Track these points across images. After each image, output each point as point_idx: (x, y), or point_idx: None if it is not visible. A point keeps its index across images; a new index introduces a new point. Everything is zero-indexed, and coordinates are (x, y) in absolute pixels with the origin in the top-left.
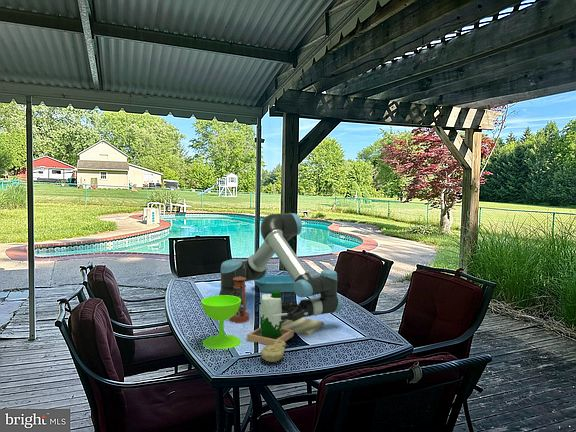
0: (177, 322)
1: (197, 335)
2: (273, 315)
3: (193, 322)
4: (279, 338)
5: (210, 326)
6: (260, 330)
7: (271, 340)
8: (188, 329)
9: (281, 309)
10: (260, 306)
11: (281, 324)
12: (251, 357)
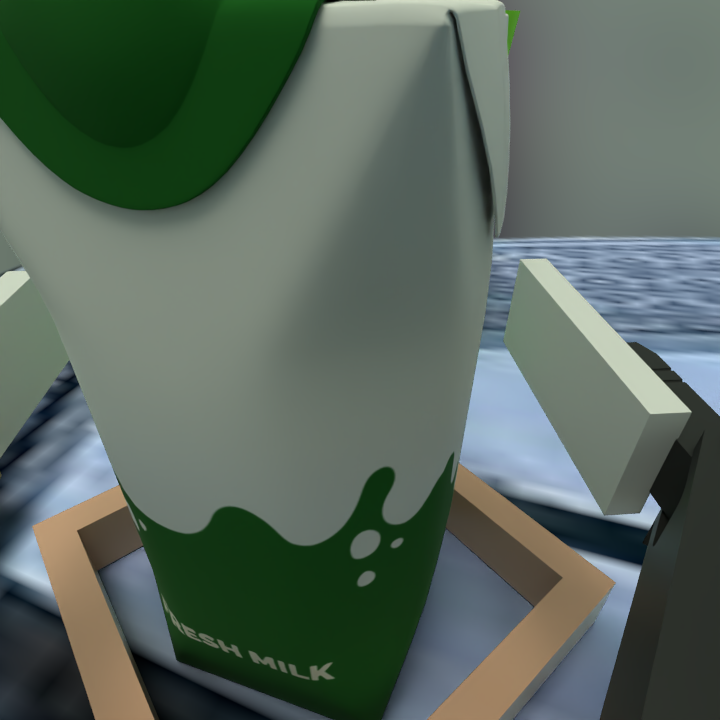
0: (698, 246)
1: (504, 271)
2: (14, 272)
3: (713, 278)
4: (68, 576)
5: (653, 316)
6: (452, 502)
7: (107, 494)
8: (595, 260)
9: (87, 375)
10: (522, 260)
11: (184, 603)
12: (67, 376)
